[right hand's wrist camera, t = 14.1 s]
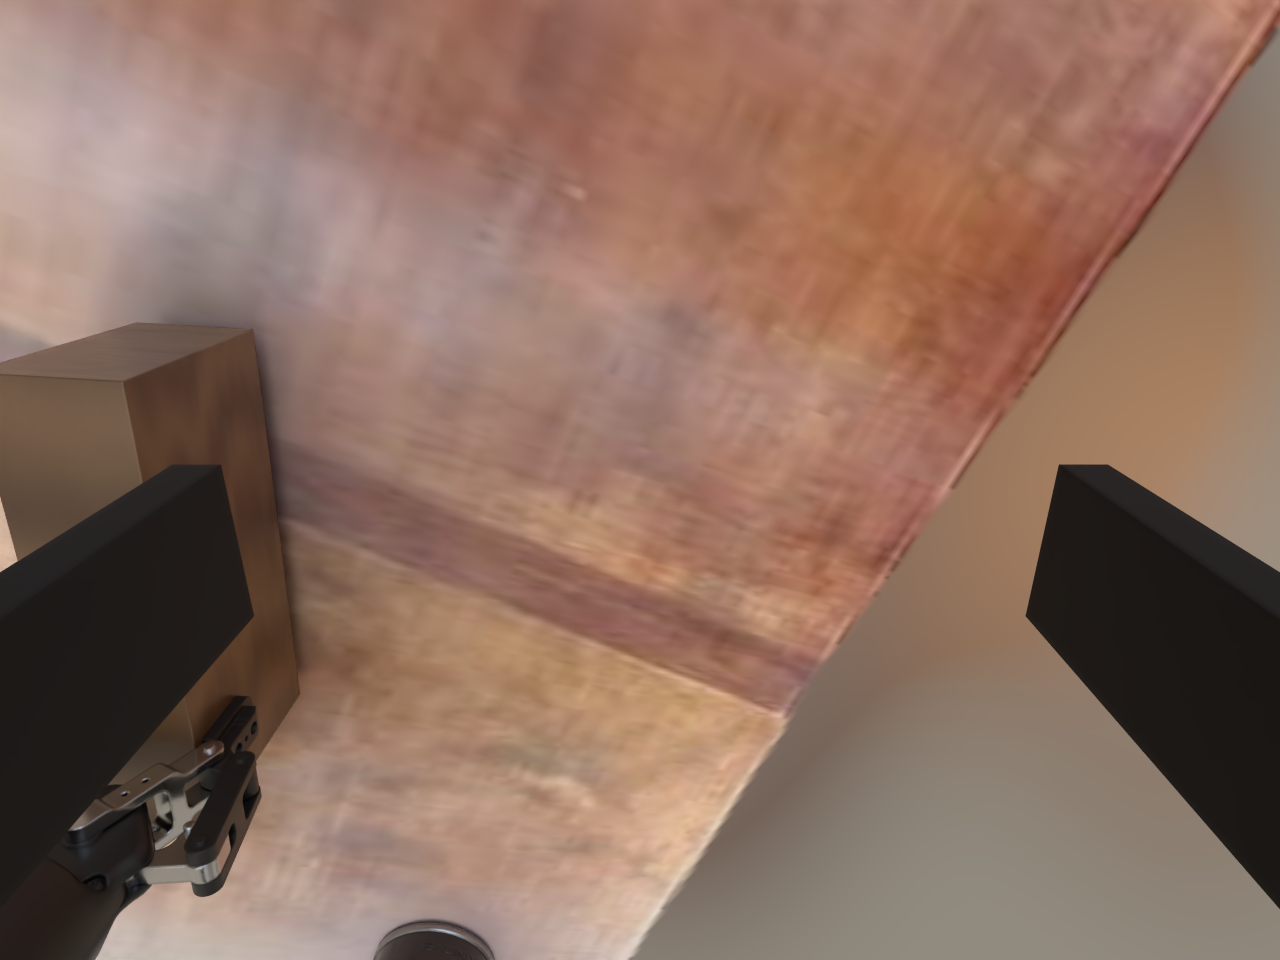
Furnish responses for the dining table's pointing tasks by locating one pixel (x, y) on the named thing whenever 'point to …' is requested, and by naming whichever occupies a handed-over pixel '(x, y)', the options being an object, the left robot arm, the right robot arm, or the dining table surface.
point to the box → (138, 450)
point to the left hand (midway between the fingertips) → (183, 706)
